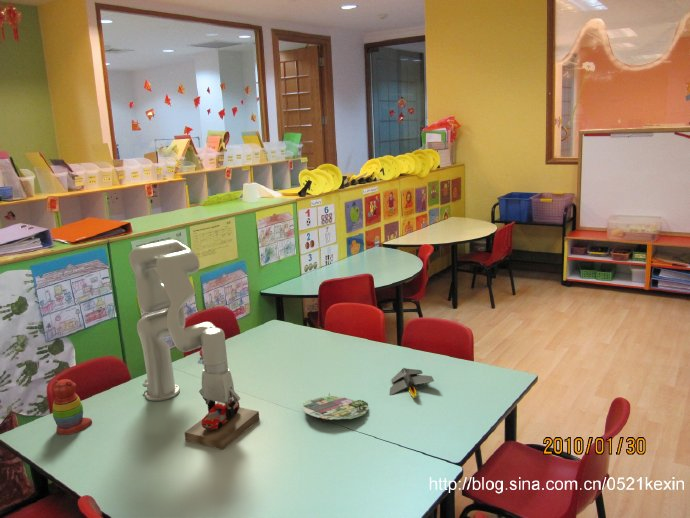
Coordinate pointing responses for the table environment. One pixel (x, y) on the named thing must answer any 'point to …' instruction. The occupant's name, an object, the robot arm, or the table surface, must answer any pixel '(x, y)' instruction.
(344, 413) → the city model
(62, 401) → the stacking bear
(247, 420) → the walnut base
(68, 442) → the table surface
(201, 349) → the toy pieces
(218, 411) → the race car
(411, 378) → the toy plane
